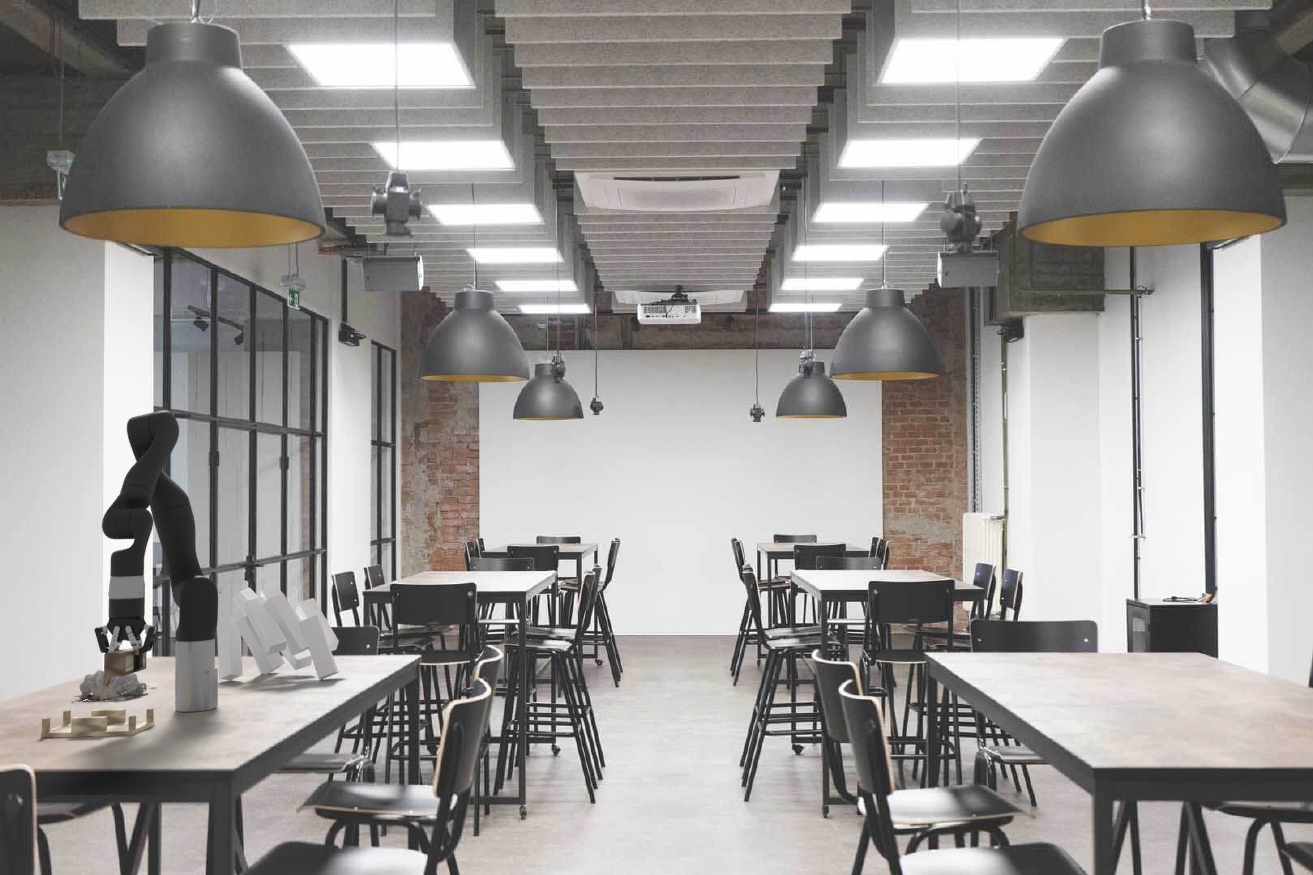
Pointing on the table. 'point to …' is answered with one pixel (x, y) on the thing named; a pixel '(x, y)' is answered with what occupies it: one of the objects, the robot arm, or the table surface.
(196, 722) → the table surface
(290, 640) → the pile of blocks
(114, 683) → the grey rough lump
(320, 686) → the table surface
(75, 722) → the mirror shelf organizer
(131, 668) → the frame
